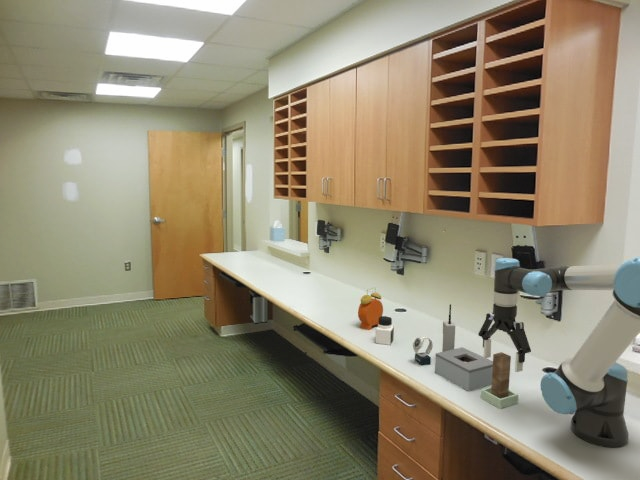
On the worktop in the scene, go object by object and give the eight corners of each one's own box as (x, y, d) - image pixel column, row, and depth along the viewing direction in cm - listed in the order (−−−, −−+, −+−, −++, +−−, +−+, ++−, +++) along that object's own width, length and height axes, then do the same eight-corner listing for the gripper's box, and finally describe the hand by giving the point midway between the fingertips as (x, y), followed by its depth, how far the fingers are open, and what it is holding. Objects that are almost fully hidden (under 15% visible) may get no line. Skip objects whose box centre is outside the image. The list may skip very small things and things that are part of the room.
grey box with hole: (495, 383, 180) (497, 363, 178) (468, 391, 173) (469, 370, 172) (461, 365, 195) (462, 347, 194) (434, 372, 189) (435, 353, 188)
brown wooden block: (508, 400, 165) (510, 356, 163) (499, 402, 164) (502, 358, 161) (498, 395, 169) (501, 352, 167) (490, 397, 167) (493, 354, 165)
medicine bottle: (390, 345, 218) (391, 320, 216) (375, 343, 220) (375, 318, 218) (393, 340, 224) (394, 315, 223) (378, 338, 227) (379, 313, 225)
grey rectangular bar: (449, 359, 202) (452, 302, 198) (453, 363, 197) (456, 305, 193) (441, 359, 202) (443, 302, 198) (444, 364, 197) (447, 305, 193)
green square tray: (517, 403, 165) (518, 394, 164) (500, 408, 161) (500, 400, 160) (498, 392, 172) (498, 384, 172) (480, 397, 168) (481, 389, 168)
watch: (410, 361, 200) (411, 336, 198) (427, 358, 202) (428, 334, 201) (416, 366, 195) (417, 340, 193) (434, 364, 197) (435, 338, 195)
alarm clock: (373, 322, 250) (374, 285, 247) (383, 324, 246) (383, 287, 243) (357, 328, 241) (357, 289, 238) (366, 331, 236) (367, 291, 233)
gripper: (545, 311, 152) (541, 375, 155) (484, 294, 174) (482, 350, 177) (528, 314, 148) (525, 379, 151) (469, 297, 170) (467, 354, 173)
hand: (502, 364), depth 164 cm, fingers open, 13 cm apart
